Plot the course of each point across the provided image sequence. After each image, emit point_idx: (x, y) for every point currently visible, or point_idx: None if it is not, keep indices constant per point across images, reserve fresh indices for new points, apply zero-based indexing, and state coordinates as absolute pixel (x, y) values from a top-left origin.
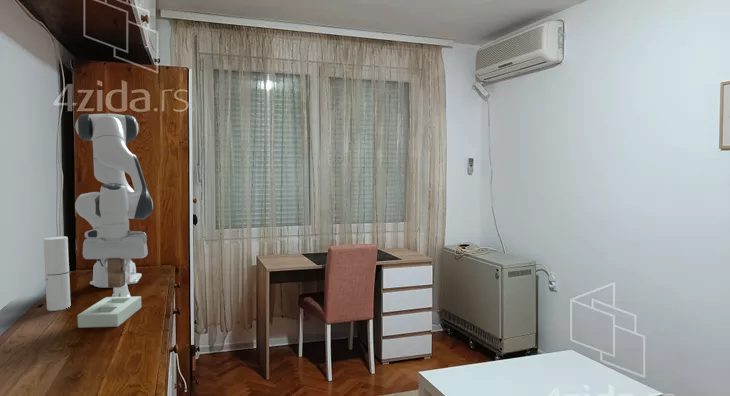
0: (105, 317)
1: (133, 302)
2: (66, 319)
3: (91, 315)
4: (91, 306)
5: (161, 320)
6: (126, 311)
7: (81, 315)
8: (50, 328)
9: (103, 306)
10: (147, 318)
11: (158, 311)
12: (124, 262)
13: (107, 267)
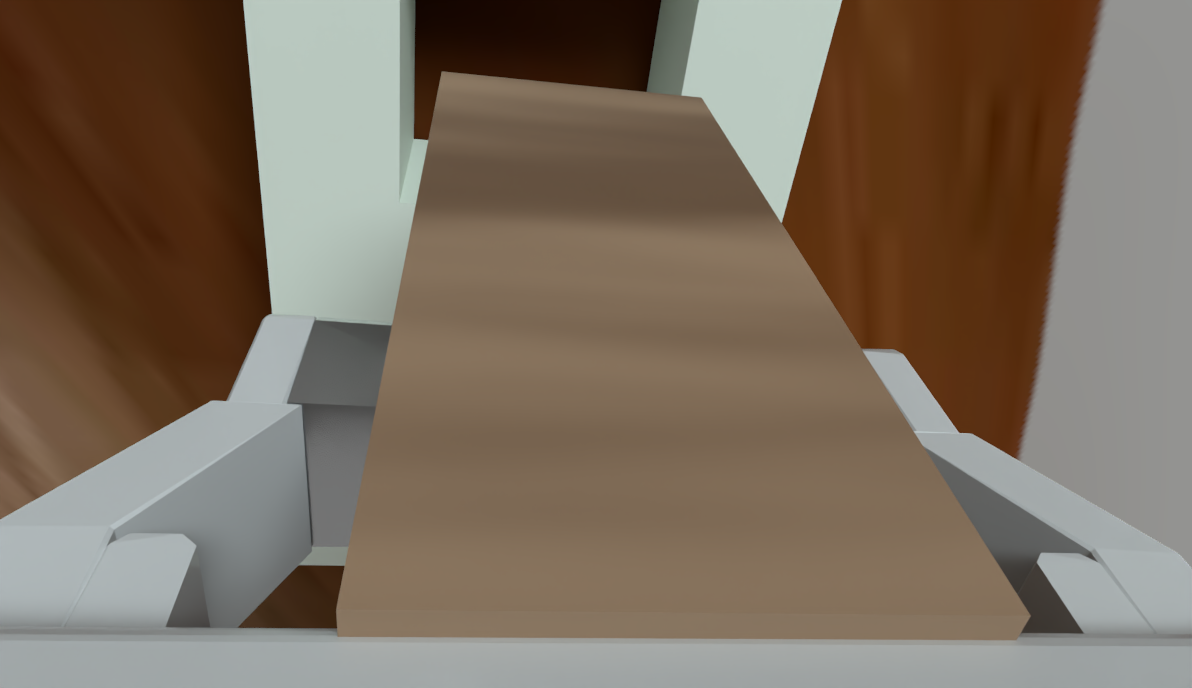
0: None
1: (787, 191)
2: (7, 227)
3: None
4: (278, 311)
5: (1021, 386)
6: None
7: (337, 560)
8: (56, 465)
9: None
10: (901, 317)
11: (1025, 94)
12: (886, 399)
13: (345, 536)
